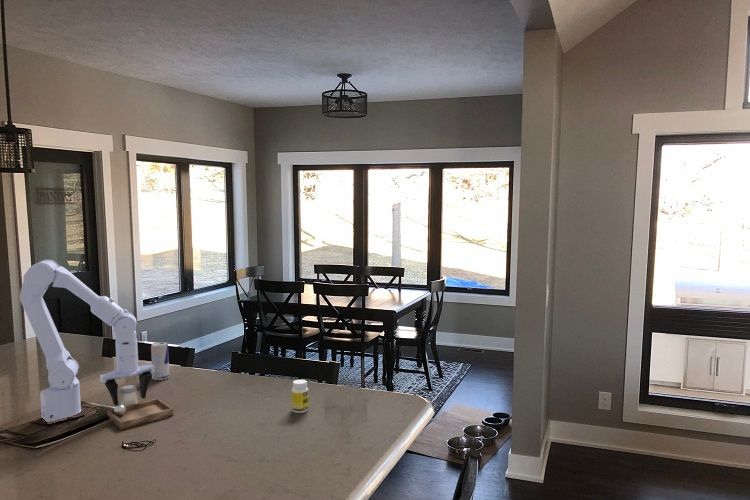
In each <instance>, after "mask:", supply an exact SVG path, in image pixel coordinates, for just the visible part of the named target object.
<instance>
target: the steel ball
mask: <svg viewBox="0 0 750 500" xmlns="http://www.w3.org/2000/svg"><path fill="white" fill-rule="evenodd" d="M113 410H114V413H115V414H116V415H118V416H121V415H123V414H124V413H125V412H126V407H125V406H124V405H121V404H118V405H116V406H115V407H114V409H113Z"/></svg>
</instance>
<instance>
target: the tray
mask: <svg viewBox="0 0 750 500" xmlns="http://www.w3.org/2000/svg"><path fill="white" fill-rule="evenodd" d="M174 414H175V411H174V408H173V407H172V406H170V404H169V405H168V404H167V403H166V402H164V401H163V400H161V399H160V398H154V399H150V400H147V401H142V402H138V403H137V404H133V405H130V406H126V412H125V413H124V414H123V415H121V416H118V415H116V414H115V413H114V409H110V410H107V417H108V416H109V417H110V419H111V420H112V421H113V422H112V421H111V420H110V419H109V420H110V421H111V422H112V423H113V424H114V425H115V426H116V425H117V426H118V427H119V429H120V431H123V430H122V429H124V430H126V429H125V428H127V429H130V428H129V427H131V428H133V427H132V426H134V427H137V426H136V425H138V426H140V425H139V424H142V425H144V424H143V423H145V424H147V423H146V422H149V423H152V422H155V421H154V420H156V421H159V420H162V419H161V418H163V419H165V418H164V417H166V418H169V417H168V416H170V417H173V416H172V415H174ZM158 419H159V420H158ZM151 421H152V422H151ZM117 426H116V427H117ZM118 427H117V428H118Z"/></svg>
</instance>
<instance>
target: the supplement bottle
mask: <svg viewBox="0 0 750 500" xmlns="http://www.w3.org/2000/svg"><path fill="white" fill-rule="evenodd" d="M307 381H308V380H305V379H296V380H293V381H292V388H291V411H292V412H293V413H295V414H296V413H297V414H300V413H301V414H302V413H306V412H308V410H309V408H310V407H309V388H308V382H307Z"/></svg>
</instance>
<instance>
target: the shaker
mask: <svg viewBox="0 0 750 500" xmlns="http://www.w3.org/2000/svg"><path fill="white" fill-rule="evenodd" d="M119 393H120V405H124V406H125V407H126V406H130V405H133V404H137V403H139V402H138V400H139V399H138V385H135V384H131V385H124V386H122V387H120V388H119Z"/></svg>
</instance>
